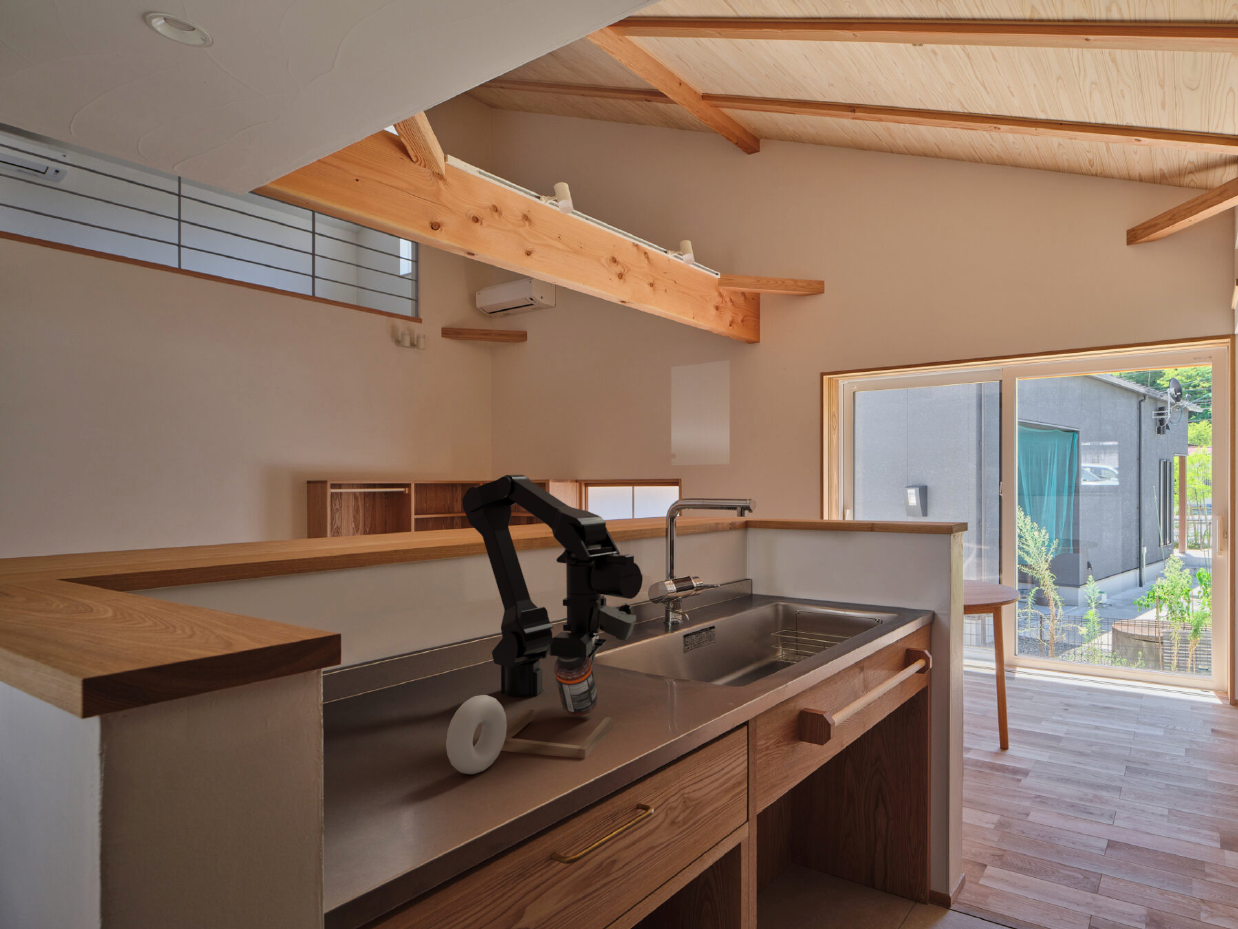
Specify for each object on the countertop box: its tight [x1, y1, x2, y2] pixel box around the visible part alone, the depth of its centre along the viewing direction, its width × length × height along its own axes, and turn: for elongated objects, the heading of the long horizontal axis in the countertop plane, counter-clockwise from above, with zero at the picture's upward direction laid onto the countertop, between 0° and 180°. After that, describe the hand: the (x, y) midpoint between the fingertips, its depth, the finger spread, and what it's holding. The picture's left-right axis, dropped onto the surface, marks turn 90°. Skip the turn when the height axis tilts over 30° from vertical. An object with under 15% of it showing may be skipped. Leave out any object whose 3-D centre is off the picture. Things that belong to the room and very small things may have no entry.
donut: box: [445, 694, 508, 776], centre depth 97 cm, size 10×4×10 cm, turn 148°
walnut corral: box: [500, 708, 613, 759], centre depth 109 cm, size 14×13×2 cm
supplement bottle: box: [553, 656, 599, 717], centre depth 118 cm, size 6×6×11 cm
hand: (584, 685), depth 123 cm, fingers closed
